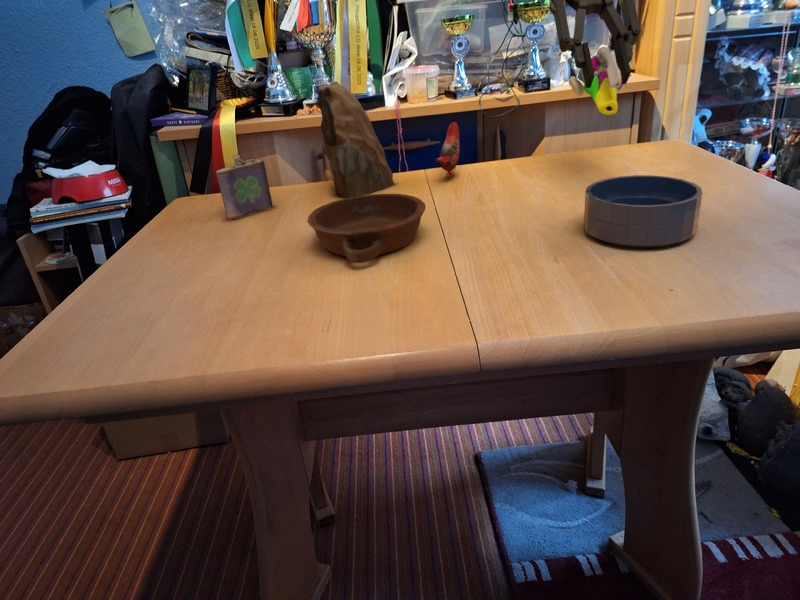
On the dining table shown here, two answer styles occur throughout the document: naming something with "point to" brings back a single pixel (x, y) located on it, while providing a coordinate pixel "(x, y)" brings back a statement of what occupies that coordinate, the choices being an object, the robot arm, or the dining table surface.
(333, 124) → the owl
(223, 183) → the flask
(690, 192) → the bowl
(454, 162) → the decorative bird figurine
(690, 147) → the dining table surface
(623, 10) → the robot arm
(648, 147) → the dining table surface
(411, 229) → the dish
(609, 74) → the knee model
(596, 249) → the dining table surface
